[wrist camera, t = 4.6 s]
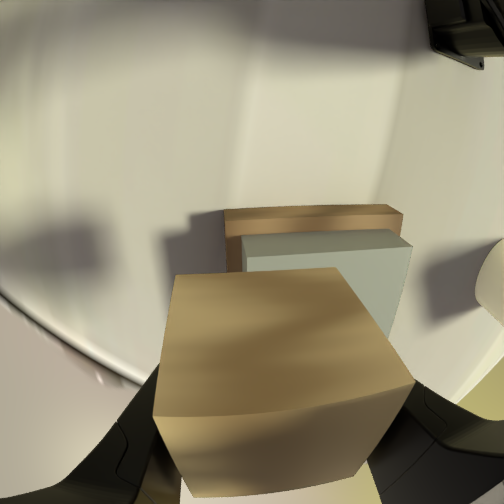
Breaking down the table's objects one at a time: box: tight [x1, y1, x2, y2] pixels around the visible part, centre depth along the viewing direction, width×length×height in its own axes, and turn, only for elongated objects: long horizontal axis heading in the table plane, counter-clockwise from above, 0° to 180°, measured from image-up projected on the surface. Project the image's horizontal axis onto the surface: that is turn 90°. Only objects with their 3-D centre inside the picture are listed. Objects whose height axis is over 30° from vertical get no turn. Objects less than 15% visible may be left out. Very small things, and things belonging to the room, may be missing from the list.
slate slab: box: [241, 229, 413, 339], centre depth 19 cm, size 10×10×3 cm
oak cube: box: [153, 267, 416, 498], centre depth 8 cm, size 5×5×5 cm
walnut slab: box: [224, 204, 403, 273], centre depth 22 cm, size 12×12×3 cm
